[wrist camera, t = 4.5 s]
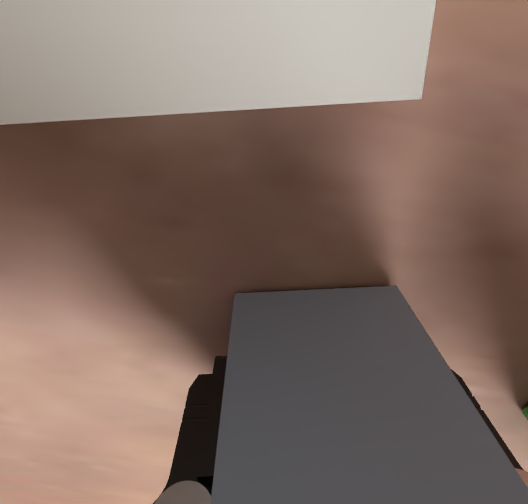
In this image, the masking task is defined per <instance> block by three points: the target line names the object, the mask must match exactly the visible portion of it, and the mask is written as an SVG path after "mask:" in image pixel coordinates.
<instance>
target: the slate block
mask: <svg viewBox="0 0 528 504" xmlns="http://www.w3.org/2000/svg"><path fill="white" fill-rule="evenodd" d="M210 504H528V488H527V486H526V485H525V483H524V482H523V480H522V479H521V477H520V475H519V474H518V472H517V471H516V469H515V468H514V466H513V465H512V463H511V462H510V460H509V459H508V457H507V455H506V454H505V452H504V451H503V449H502V448H501V446H500V445H499V443H498V442H497V440H496V438H495V437H494V435H493V434H492V432H491V431H490V429H489V428H488V426H487V425H486V423H485V422H484V420H483V418H482V417H481V415H480V414H479V412H478V411H477V409H476V408H475V406H474V405H473V403H472V402H471V400H470V398H469V397H468V395H467V394H466V392H465V391H464V389H463V388H462V386H461V385H460V383H459V382H458V380H457V378H456V377H455V375H454V374H453V372H452V371H451V369H450V368H449V366H448V365H447V363H446V362H445V360H444V358H443V357H442V355H441V354H440V352H439V351H438V349H437V348H436V346H435V345H434V343H433V342H432V340H431V338H430V337H429V335H428V334H427V332H426V331H425V329H424V328H423V326H422V325H421V323H420V322H419V320H418V318H417V317H416V315H415V314H414V312H413V311H412V309H411V308H410V306H409V305H408V303H407V301H406V300H405V298H404V297H403V295H402V294H401V292H400V291H399V289H398V288H397V286H378V287H357V288H336V289H315V290H295V291H274V292H253V293H234V302H233V311H232V320H231V328H230V337H229V346H228V354H227V363H226V372H225V381H224V389H223V398H222V407H221V415H220V424H219V433H218V442H217V450H216V459H215V468H214V477H213V485H212V494H211V503H210Z"/></svg>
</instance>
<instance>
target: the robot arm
mask: <svg viewBox="0 0 528 504" xmlns="http://www.w3.org/2000/svg"><path fill="white" fill-rule="evenodd" d="M226 363H227V356H216V357H215V362H214V368H213V374H201V375H198V377H197V378H196V380H195V381H194V382H193V384H192V385H191V387H190V388H189V391H188V396H187V400H186V405H185V406H186V407H185V409H184V414H183V418H182V423H181V427H180V431H179V436H178V440H177V445H176V449H175V454H174V458H173V463H172V467H171V472H170V476H169V479H168V482H167V484H166V487H165V488H164V490H163V492H162V493H161V495H160V496H159V497H158V499H157V500H156V501H155V502H154V503H153V504H210V503H211V494H212V485H213V477H214V468H215V459H216V450H217V442H218V433H219V424H220V415H221V407H222V398H223V389H224V381H225V372H226ZM451 371H452V372H453V374H454V375H455V377H456V378H457V380H458V382H459V383H460V385H461V386H462V388H463V389H464V391H465V392H466V394H467V395H468V397H469V398H470V400H471V402H472V403H473V405H474V406H475V408H476V409H477V411H478V412H479V414H480V415H481V417H482V418H483V420H484V422H485V423H486V425H487V426H488V428H489V429H490V431H491V432H492V434H493V435H494V437H495V438H496V440H497V442H498V443H499V445H500V446H501V448H502V449H503V451H504V452H505V454H506V455H507V457H508V459H509V460H510V462H511V463H512V465H513V466H514V468H515V469H516V471H517V472H518V474H519V475H520V477H521V479H522V480H523V482H524V483H525V485H526V486H527V488H528V472H526V471H524V470H523V468H522V467H521V466H520V465H519V463H518V462H517V460H516V459H515V457H514V456H513V454H512V453H511V452H510V450H509V449H508V447H507V446H506V444H505V443H504V441H503V440H502V438H501V437H500V435H499V434H498V432H497V431H496V429H495V428H494V426H493V425H492V423H491V422H490V420H489V419H488V417H487V416H486V414H485V413H484V411H483V410H481V408H480V405H479V404H478V402H477V401H476V399H475V398H474V397H473V396H472V393H471V392H470V390H469V389H468V387H467V386H466V384H465V383H464V381H463V380H462V378H461V377H460V376H459V375H458V374H456V373H455V372H454V371H453V370H452V369H451Z"/></svg>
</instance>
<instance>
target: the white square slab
mask: <svg viewBox="0 0 528 504" xmlns="http://www.w3.org/2000/svg"><path fill="white" fill-rule="evenodd" d="M435 4H436V0H0V125H5V124H21V123H38V122H54V121H70V120H87V119H103V118H119V117H136V116H152V115H168V114H185V113H201V112H217V111H234V110H250V109H266V108H283V107H299V106H315V105H332V104H348V103H364V102H381V101H397V100H413V99H421V98H422V91H423V85H424V78H425V71H426V64H427V58H428V51H429V44H430V38H431V31H432V24H433V17H434V11H435Z"/></svg>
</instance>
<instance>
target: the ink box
mask: <svg viewBox="0 0 528 504" xmlns="http://www.w3.org/2000/svg"><path fill="white" fill-rule="evenodd" d="M522 413H523V414H524V416H525V417H526V418H527V420H528V406H527V407H526V408H524V409H523V410H522Z"/></svg>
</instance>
